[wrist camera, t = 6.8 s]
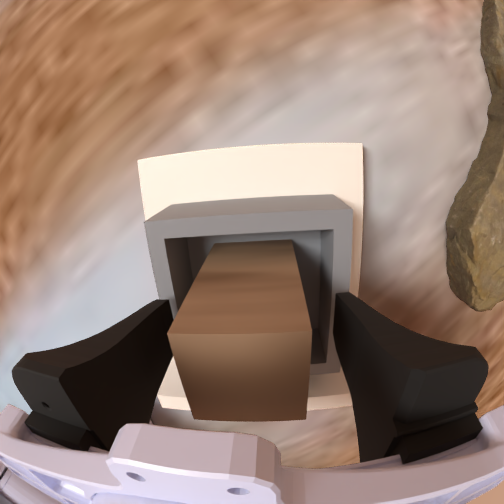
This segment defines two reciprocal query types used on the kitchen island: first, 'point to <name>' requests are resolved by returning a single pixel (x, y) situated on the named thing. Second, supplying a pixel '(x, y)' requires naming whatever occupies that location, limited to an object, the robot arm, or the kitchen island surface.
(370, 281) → the kitchen island surface
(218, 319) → the walnut rail post
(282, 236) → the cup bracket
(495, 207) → the stone slab
